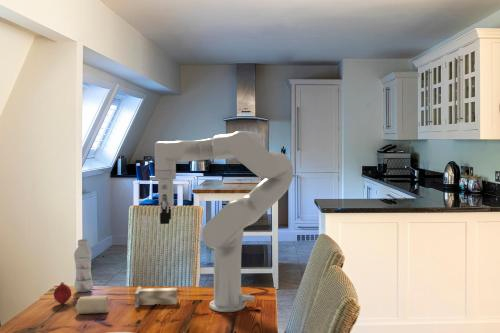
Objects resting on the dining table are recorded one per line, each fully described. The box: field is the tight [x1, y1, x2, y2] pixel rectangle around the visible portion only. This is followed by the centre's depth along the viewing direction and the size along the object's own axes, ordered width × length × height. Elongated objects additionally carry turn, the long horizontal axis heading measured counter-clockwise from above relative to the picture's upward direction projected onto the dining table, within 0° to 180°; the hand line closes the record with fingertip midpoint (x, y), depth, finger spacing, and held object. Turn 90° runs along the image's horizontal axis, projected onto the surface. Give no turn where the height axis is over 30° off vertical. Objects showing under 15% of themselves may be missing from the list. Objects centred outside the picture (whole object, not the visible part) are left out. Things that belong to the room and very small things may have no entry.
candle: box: [74, 295, 109, 315], centre depth 163 cm, size 6×6×10 cm
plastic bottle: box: [73, 238, 94, 293], centre depth 186 cm, size 6×7×20 cm
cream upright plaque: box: [134, 286, 178, 309], centre depth 173 cm, size 14×8×5 cm, turn 95°
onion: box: [53, 281, 72, 305], centre depth 172 cm, size 6×6×8 cm
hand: (165, 221), depth 178 cm, fingers open, 9 cm apart
